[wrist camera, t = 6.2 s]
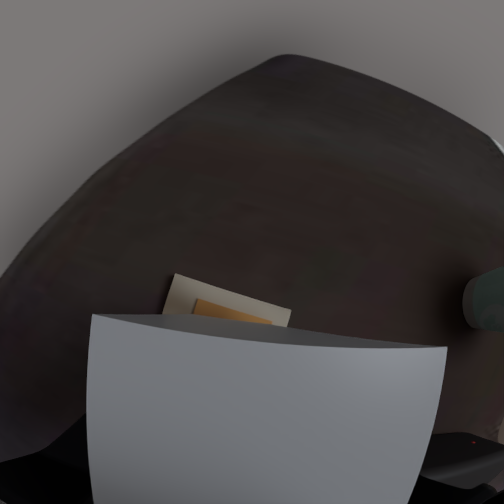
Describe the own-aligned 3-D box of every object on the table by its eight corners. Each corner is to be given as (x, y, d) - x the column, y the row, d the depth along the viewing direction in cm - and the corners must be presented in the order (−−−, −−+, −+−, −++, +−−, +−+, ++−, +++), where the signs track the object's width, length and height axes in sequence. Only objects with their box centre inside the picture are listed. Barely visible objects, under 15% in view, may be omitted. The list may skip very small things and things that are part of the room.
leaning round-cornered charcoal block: (340, 473, 20) (389, 524, 11) (357, 432, 21) (417, 474, 12) (450, 462, 21) (501, 485, 12) (464, 428, 22) (519, 446, 13)
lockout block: (259, 397, 16) (372, 568, 2) (183, 388, 15) (108, 569, 2) (269, 323, 17) (447, 346, 3) (191, 313, 16) (92, 313, 3)
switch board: (213, 522, 18) (214, 533, 16) (119, 495, 17) (114, 504, 16) (287, 310, 23) (293, 310, 21) (177, 275, 22) (174, 272, 21)
